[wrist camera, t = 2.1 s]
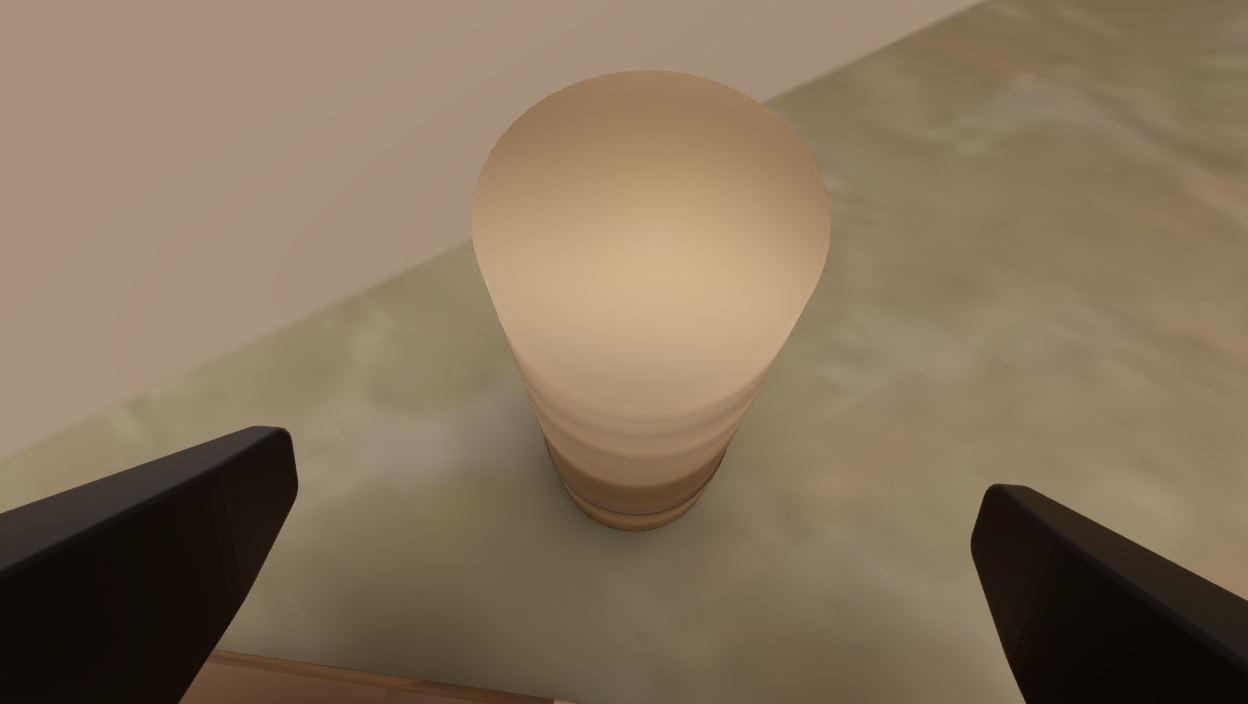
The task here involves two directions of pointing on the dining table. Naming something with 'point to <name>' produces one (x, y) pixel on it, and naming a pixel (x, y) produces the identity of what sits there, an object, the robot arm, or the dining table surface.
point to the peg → (647, 276)
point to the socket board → (326, 685)
